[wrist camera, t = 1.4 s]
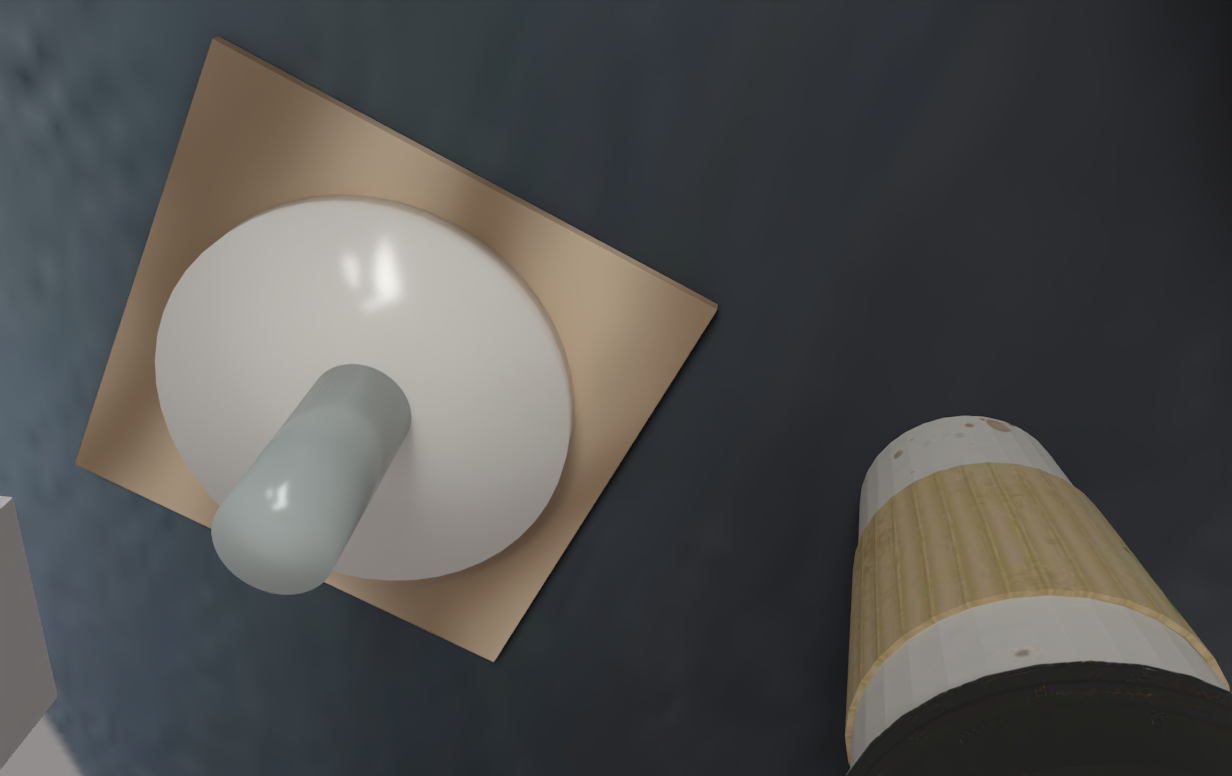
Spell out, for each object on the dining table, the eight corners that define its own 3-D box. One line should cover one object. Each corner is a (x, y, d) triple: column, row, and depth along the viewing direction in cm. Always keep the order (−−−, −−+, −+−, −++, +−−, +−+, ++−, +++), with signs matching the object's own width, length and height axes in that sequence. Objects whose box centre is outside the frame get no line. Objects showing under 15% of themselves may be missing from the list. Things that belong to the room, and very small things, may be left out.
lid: (127, 451, 37) (-25, 606, 29) (245, 113, 31) (92, 203, 23) (473, 616, 38) (410, 801, 31) (648, 325, 32) (621, 470, 25)
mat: (80, 458, 37) (74, 464, 37) (218, 36, 30) (212, 38, 30) (496, 654, 39) (493, 662, 39) (717, 304, 32) (717, 309, 32)
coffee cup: (949, 669, 38) (1059, 1128, 24) (738, 505, 35) (734, 910, 22) (1191, 496, 34) (1481, 934, 20) (970, 298, 31) (1134, 644, 18)
